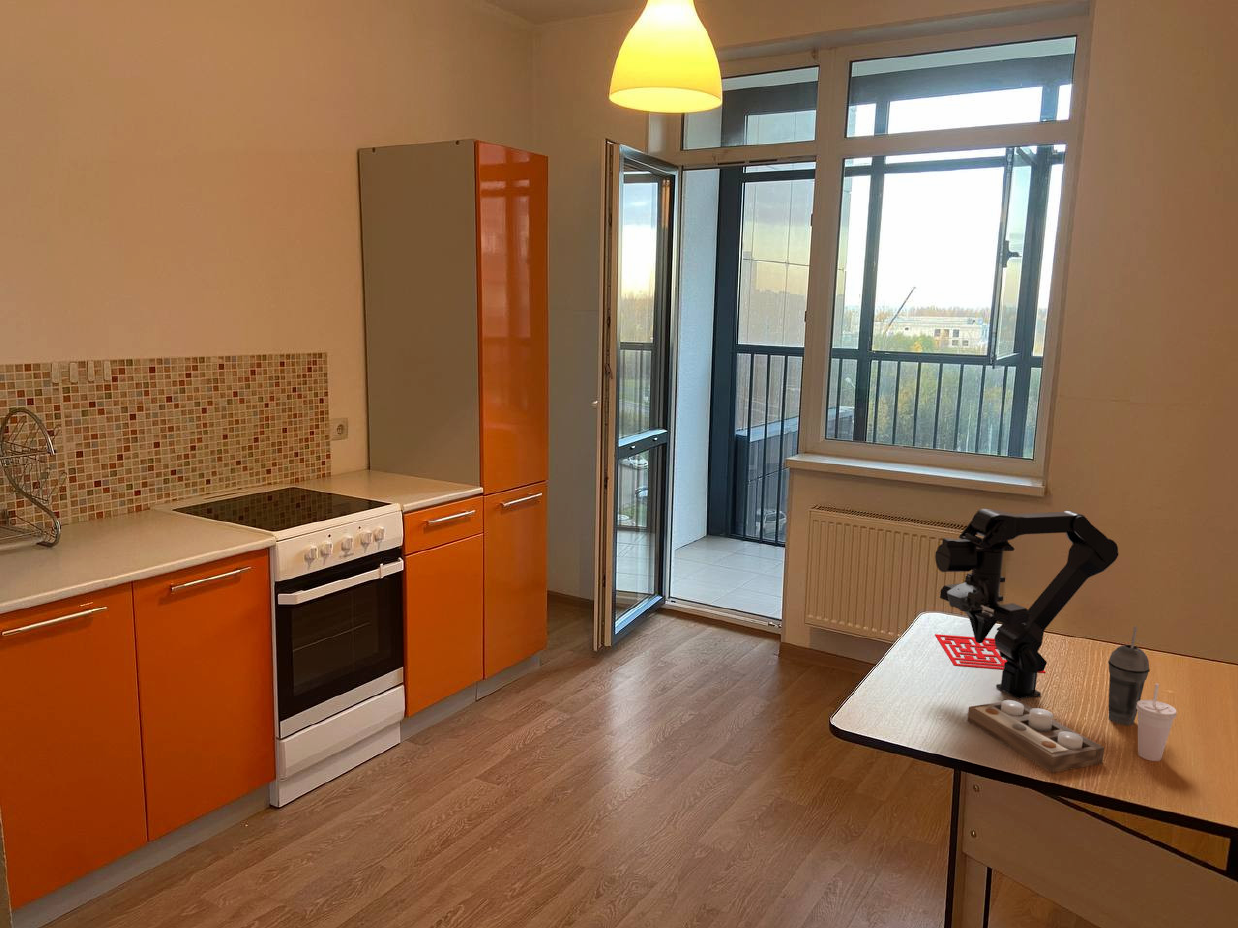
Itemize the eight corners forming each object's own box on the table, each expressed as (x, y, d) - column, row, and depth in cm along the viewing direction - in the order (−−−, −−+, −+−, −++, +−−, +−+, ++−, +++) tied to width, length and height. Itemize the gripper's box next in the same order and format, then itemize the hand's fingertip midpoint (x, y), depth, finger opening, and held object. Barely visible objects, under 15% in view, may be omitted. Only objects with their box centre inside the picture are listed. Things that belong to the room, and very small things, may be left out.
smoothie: (1122, 747, 170) (1132, 677, 168) (1154, 747, 171) (1164, 677, 169) (1144, 764, 164) (1155, 691, 162) (1177, 764, 165) (1189, 691, 162)
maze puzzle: (1018, 642, 225) (1018, 640, 225) (1045, 674, 206) (1045, 671, 205) (934, 636, 227) (935, 634, 227) (953, 667, 208) (953, 664, 208)
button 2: (1068, 745, 168) (1070, 730, 168) (1085, 755, 164) (1088, 739, 164) (1051, 748, 167) (1053, 732, 166) (1069, 758, 163) (1071, 742, 163)
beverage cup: (1137, 715, 185) (1151, 621, 181) (1145, 731, 178) (1159, 633, 174) (1097, 709, 187) (1110, 616, 183) (1104, 724, 180) (1117, 627, 177)
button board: (1015, 713, 183) (1016, 697, 183) (1102, 763, 164) (1104, 745, 164) (967, 720, 179) (969, 704, 179) (1051, 772, 160) (1053, 754, 159)
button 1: (1011, 713, 181) (1013, 698, 180) (1026, 721, 177) (1028, 707, 177) (995, 715, 180) (997, 701, 179) (1010, 724, 176) (1012, 709, 175)
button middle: (1039, 721, 174) (1041, 707, 174) (1056, 731, 171) (1058, 715, 170) (1023, 724, 173) (1025, 709, 172) (1039, 733, 169) (1041, 718, 169)
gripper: (924, 562, 193) (917, 632, 196) (994, 587, 176) (986, 664, 179) (962, 557, 198) (956, 626, 200) (1034, 581, 181) (1026, 656, 184)
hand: (979, 642), depth 191 cm, fingers closed
